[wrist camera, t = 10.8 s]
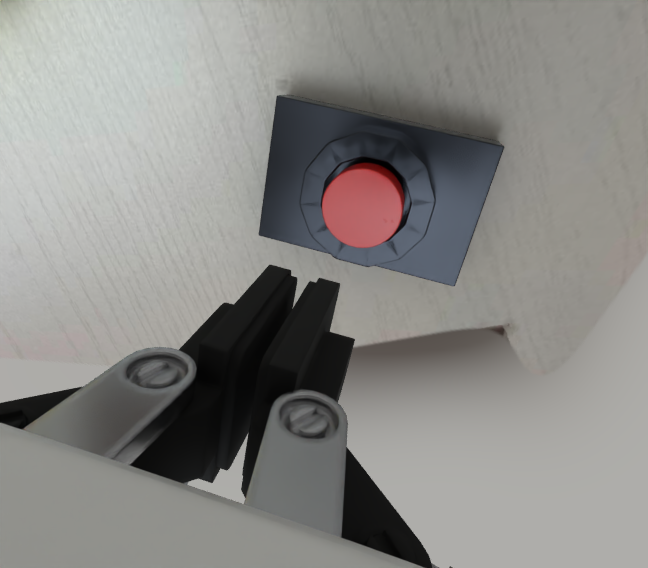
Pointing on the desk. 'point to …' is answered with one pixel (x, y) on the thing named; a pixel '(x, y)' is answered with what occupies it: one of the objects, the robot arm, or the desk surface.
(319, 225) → the button box
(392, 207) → the button
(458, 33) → the desk surface
